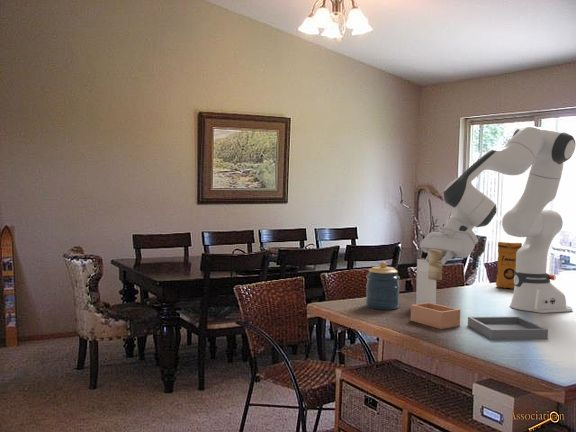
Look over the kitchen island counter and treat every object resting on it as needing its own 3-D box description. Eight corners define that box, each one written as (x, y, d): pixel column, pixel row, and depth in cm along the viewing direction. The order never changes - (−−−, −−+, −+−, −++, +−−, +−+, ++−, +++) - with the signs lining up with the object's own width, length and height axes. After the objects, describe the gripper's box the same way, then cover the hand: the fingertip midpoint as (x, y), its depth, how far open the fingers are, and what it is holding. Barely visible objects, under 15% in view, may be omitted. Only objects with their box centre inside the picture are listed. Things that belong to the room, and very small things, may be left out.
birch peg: (439, 278, 196) (439, 249, 195) (443, 280, 191) (444, 250, 191) (426, 278, 195) (427, 249, 195) (430, 280, 191) (431, 250, 190)
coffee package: (522, 291, 261) (524, 243, 261) (494, 288, 267) (495, 242, 267) (524, 288, 270) (526, 242, 269) (497, 285, 276) (498, 240, 275)
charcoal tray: (518, 325, 192) (519, 316, 192) (547, 339, 174) (548, 329, 174) (467, 325, 190) (467, 316, 190) (491, 339, 173) (492, 329, 172)
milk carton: (435, 311, 214) (436, 261, 213) (416, 310, 215) (417, 260, 214) (434, 307, 221) (435, 259, 220) (415, 306, 222) (417, 258, 221)
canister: (406, 308, 218) (407, 262, 218) (380, 311, 211) (381, 264, 211) (383, 302, 229) (384, 259, 229) (358, 305, 222) (359, 260, 222)
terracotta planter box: (428, 317, 202) (429, 302, 202) (459, 325, 190) (460, 309, 190) (410, 320, 197) (410, 304, 197) (441, 329, 185) (441, 312, 185)
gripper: (428, 224, 205) (408, 252, 200) (474, 228, 187) (452, 259, 183) (437, 236, 207) (416, 264, 203) (482, 241, 190) (461, 272, 185)
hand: (434, 262), depth 193 cm, fingers closed on birch peg, 4 cm apart
